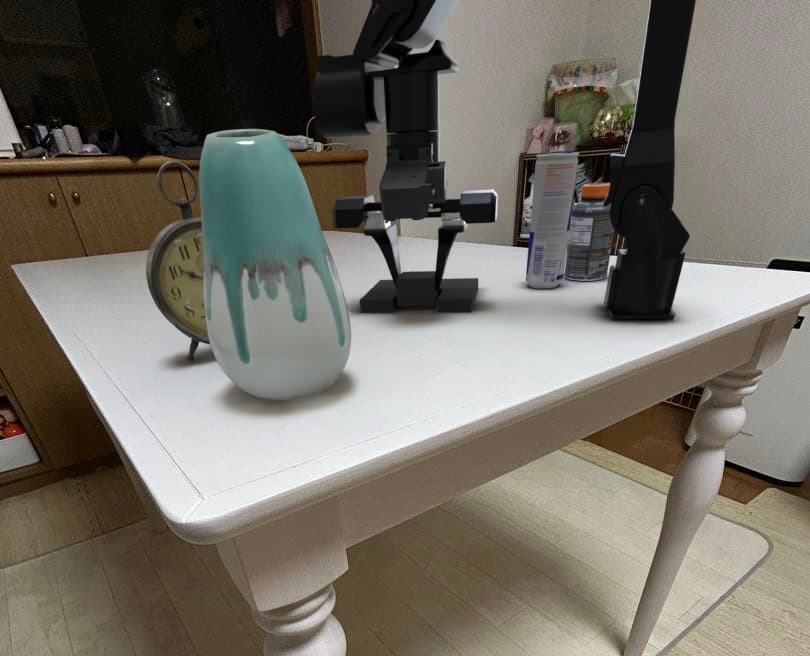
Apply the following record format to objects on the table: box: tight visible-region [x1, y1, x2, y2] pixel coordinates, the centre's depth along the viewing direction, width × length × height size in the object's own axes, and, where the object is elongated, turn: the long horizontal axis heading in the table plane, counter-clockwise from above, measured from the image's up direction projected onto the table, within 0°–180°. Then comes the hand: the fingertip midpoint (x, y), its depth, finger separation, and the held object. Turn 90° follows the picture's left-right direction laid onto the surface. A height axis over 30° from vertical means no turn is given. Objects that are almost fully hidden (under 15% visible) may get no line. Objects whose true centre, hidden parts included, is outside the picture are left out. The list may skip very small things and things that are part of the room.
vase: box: [198, 128, 352, 401], centre depth 40 cm, size 12×12×18 cm
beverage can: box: [525, 150, 580, 290], centre depth 67 cm, size 5×5×15 cm
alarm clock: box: [145, 160, 210, 362], centre depth 50 cm, size 11×5×16 cm, turn 121°
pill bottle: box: [564, 182, 615, 282], centre depth 71 cm, size 6×6×11 cm
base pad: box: [359, 277, 479, 314], centre depth 68 cm, size 14×12×2 cm
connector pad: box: [396, 270, 439, 306], centre depth 64 cm, size 5×5×3 cm
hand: (418, 290), depth 65 cm, fingers closed on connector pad, 4 cm apart
